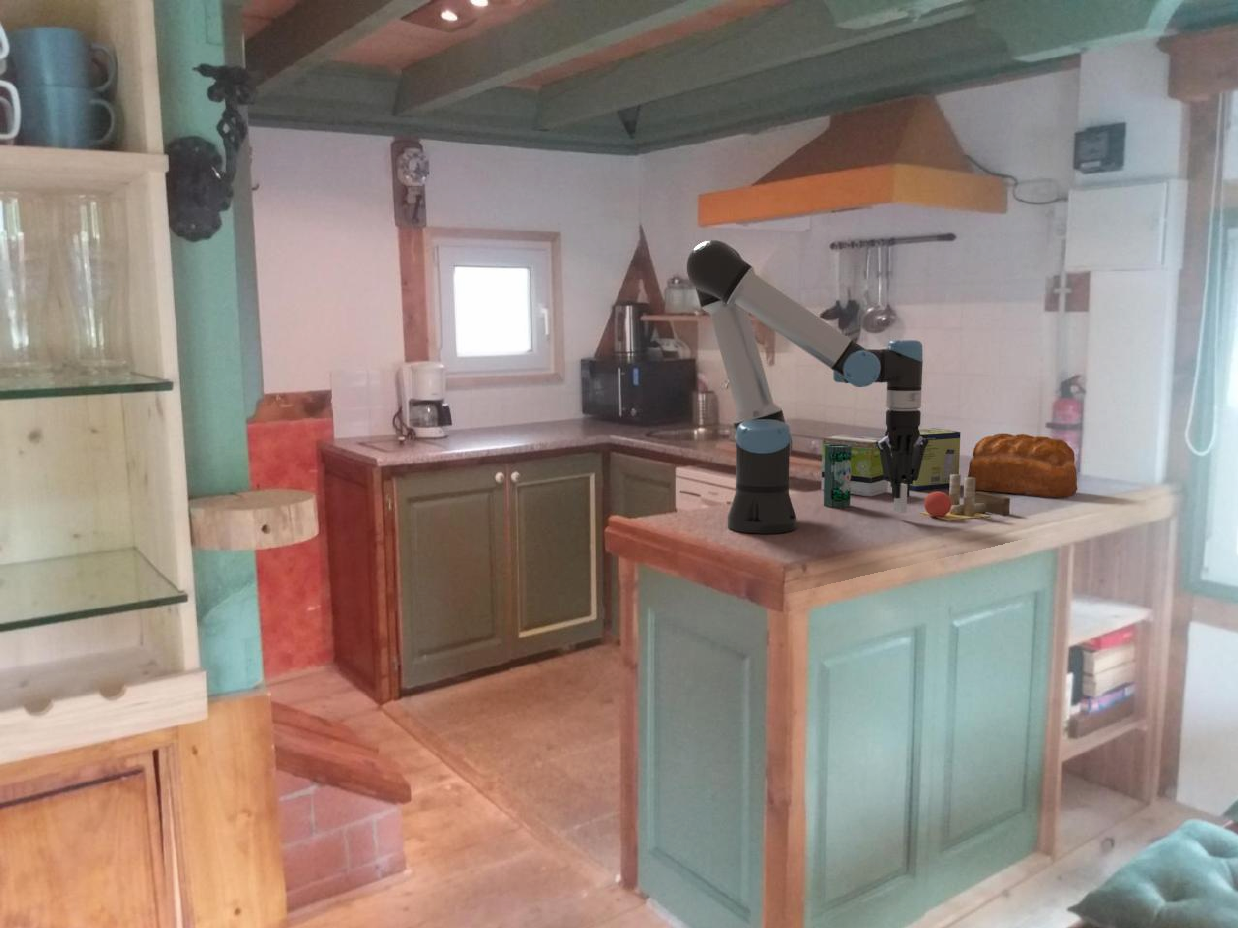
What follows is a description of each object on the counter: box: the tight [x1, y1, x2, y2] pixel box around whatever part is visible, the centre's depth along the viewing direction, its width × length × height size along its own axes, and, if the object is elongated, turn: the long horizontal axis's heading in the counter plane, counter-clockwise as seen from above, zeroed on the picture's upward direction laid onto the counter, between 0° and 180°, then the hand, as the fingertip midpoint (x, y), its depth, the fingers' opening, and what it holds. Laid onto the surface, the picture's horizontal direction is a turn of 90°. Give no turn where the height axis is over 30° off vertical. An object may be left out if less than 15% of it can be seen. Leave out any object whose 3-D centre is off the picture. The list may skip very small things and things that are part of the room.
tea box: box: [821, 434, 889, 497], centre depth 260 cm, size 15×10×15 cm
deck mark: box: [919, 511, 991, 522], centre depth 228 cm, size 12×10×1 cm
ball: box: [923, 490, 951, 518], centre depth 225 cm, size 6×6×6 cm
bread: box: [967, 433, 1078, 499], centre depth 259 cm, size 14×26×16 cm, turn 49°
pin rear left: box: [948, 474, 962, 506], centre depth 230 cm, size 2×2×9 cm
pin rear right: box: [962, 476, 976, 516], centre depth 226 cm, size 2×2×9 cm
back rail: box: [974, 491, 1011, 516], centre depth 231 cm, size 2×10×4 cm, turn 21°
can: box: [823, 444, 852, 509], centre depth 240 cm, size 6×6×15 cm
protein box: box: [890, 428, 962, 493], centre depth 267 cm, size 10×16×16 cm
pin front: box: [949, 503, 987, 515], centre depth 229 cm, size 2×2×9 cm
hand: (900, 511), depth 222 cm, fingers closed
